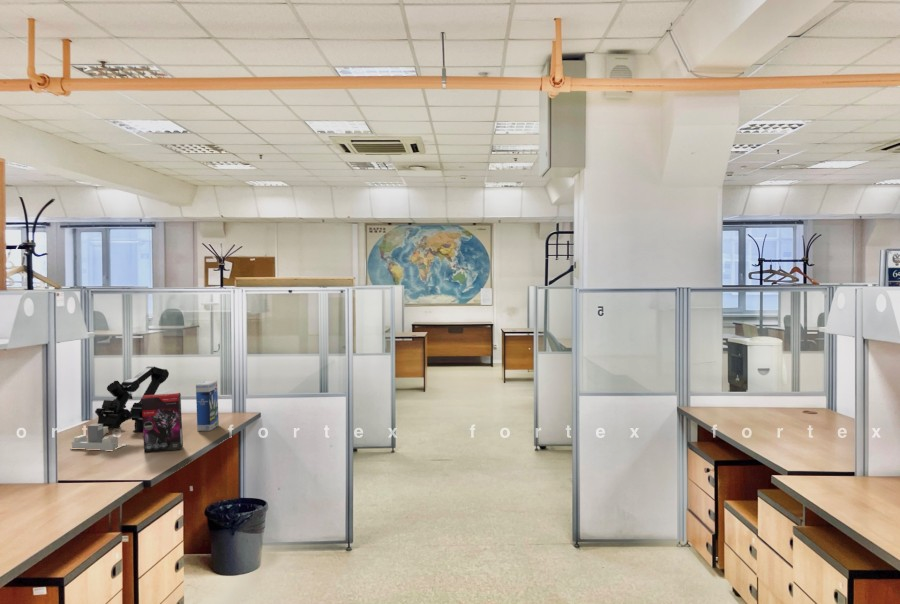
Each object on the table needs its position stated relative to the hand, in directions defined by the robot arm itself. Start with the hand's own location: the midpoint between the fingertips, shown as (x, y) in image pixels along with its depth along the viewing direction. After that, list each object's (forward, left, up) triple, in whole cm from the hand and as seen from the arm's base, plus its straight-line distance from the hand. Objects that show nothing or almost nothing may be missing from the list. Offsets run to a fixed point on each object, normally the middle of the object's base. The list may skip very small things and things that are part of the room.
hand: (105, 427), depth 315 cm
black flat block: (+25, -26, -8) cm, 37 cm away
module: (-1, +7, -8) cm, 10 cm away
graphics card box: (-38, +1, -8) cm, 39 cm away
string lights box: (-29, -41, -8) cm, 51 cm away
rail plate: (-3, +6, -8) cm, 11 cm away
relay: (+19, -13, -8) cm, 24 cm away
